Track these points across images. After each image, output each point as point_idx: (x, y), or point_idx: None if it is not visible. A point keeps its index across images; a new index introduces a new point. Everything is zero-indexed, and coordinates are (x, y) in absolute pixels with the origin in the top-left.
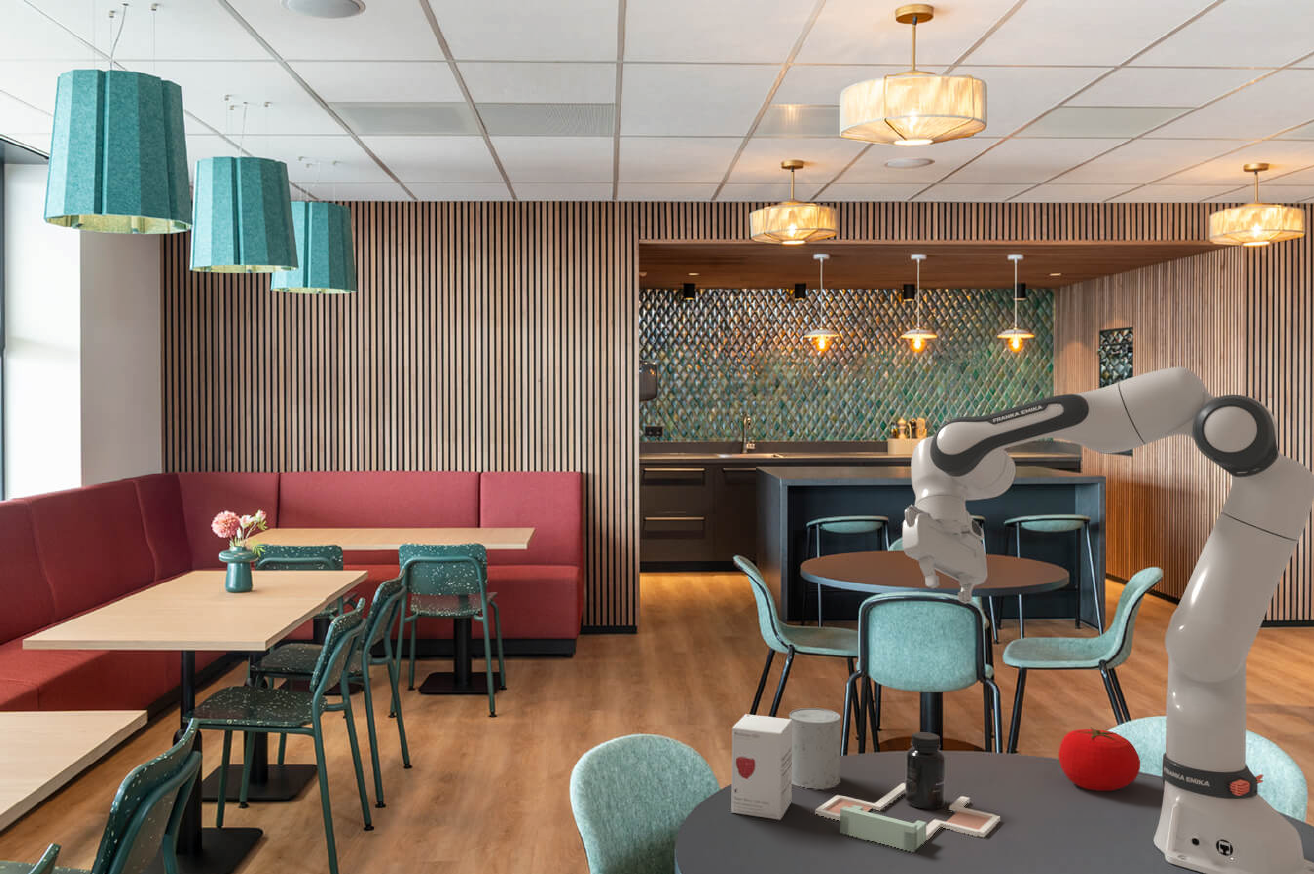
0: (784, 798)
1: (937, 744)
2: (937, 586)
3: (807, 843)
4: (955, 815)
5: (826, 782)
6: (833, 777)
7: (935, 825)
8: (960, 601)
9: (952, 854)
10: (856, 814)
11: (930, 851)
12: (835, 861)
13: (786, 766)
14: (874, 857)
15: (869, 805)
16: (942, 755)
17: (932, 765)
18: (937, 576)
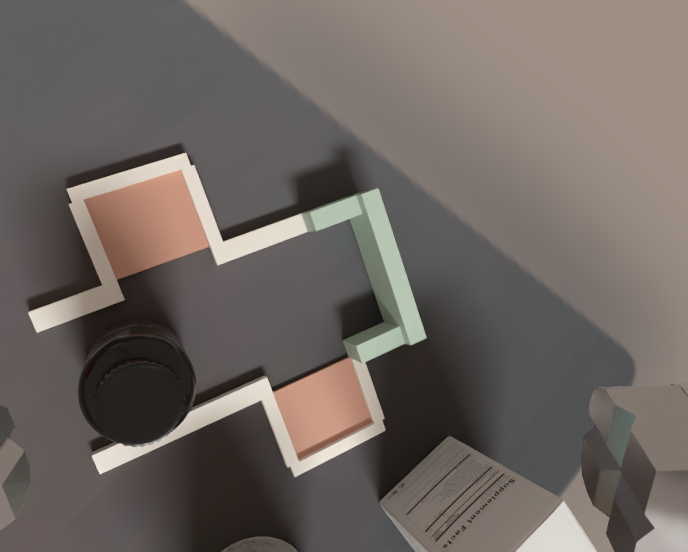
0: (444, 464)
1: (131, 360)
2: (597, 396)
3: (474, 327)
4: (143, 265)
5: (270, 544)
6: (251, 550)
7: (243, 239)
8: (22, 471)
9: (303, 143)
10: (414, 304)
11: (327, 177)
12: (484, 246)
13: (468, 496)
14: (425, 220)
15: (274, 399)
16: (116, 347)
17: (165, 337)
18: (685, 461)
